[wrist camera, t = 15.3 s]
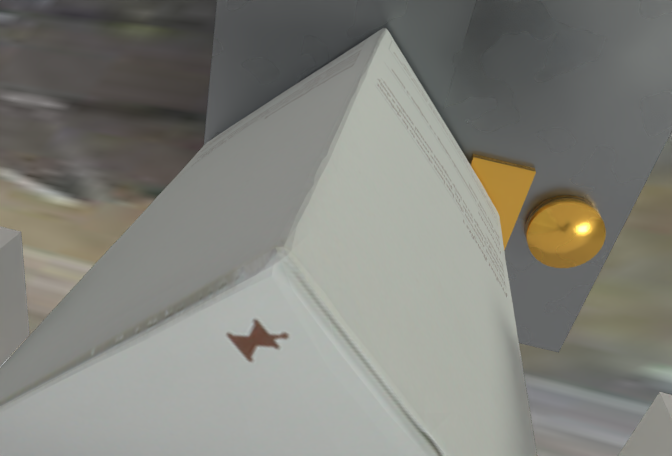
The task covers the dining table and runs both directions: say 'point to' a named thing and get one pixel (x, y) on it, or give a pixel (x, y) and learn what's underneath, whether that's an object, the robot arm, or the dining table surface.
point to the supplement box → (292, 296)
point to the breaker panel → (496, 112)
